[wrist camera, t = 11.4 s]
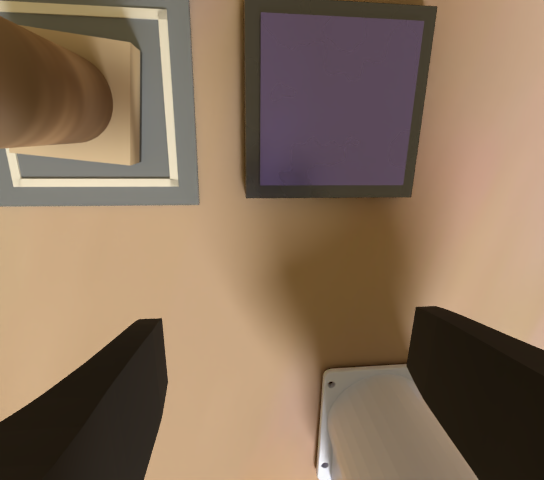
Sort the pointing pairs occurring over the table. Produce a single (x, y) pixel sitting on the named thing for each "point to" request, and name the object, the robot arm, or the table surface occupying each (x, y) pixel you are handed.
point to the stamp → (69, 95)
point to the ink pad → (333, 97)
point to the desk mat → (155, 110)
